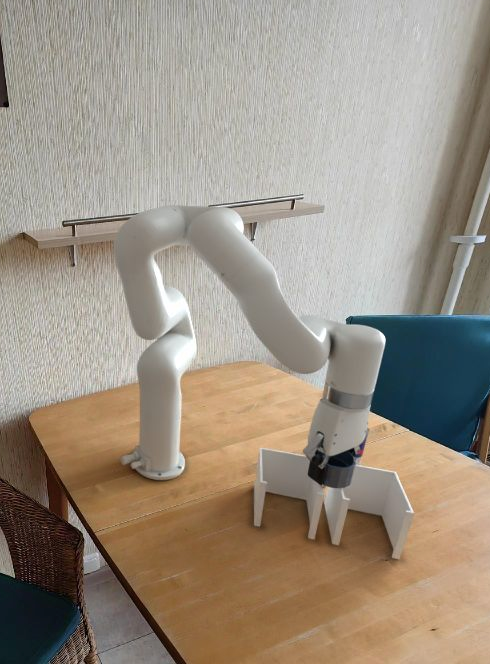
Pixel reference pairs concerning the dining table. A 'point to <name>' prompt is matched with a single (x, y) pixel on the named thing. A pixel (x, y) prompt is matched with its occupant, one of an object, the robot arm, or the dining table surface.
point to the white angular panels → (335, 495)
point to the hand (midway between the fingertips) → (330, 473)
